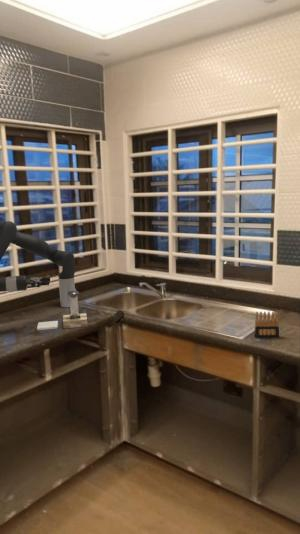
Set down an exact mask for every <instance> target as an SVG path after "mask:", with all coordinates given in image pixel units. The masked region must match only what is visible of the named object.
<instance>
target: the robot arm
mask: <svg viewBox="0 0 300 534" xmlns="http://www.w3.org/2000/svg"><path fill="white" fill-rule="evenodd" d="M11 244H13V245H16V246H17V247H19V248H21V249H23V250H26V251H28V252H29V253H31V254H34V255H36V256H38V257H41V258H44V259H47V260H49V261H50V262H52V263H53V264H55V265H56V266H59V267H62V268H61V270H62V271H61V272H59V273H58V275H57V276H58V277H57V278H58V288H59V301H60V307H61V308H70V297H69V295H67V293H68V292H70V291H77V288H76V286H75V285H76V283H75V272H76V259H75V255H74V254H73V252H71V251H66V250H59V249H58V248H57V249H56V248H54V247H52V246H50V245H49V243H47V241H46V240H44V239H42V238H40V237H38V236H36V235H32V234H29V233H25V232H24V233H23V232H19V231H18V228H17V225H16V224H15V222H13V221H9V220H5V221H0V262H1V261H2V259H3V257H4V255H5V253H6V252H7V250H8V248H9V246H10V245H11ZM50 282H51V277H48V276H47V277H43V276H35V277H29V278H28V279H27V275H12V276H11V275H10V276H7V277H5V276H4V277H0V293H1V292H20V291H21V292H22V291H23V292H24V291H27V289H31V288H32V289H33V288H40V287H42V286H43V287H45V286H50Z"/></svg>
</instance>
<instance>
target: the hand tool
mask: <svg viewBox="0 0 300 534" xmlns="http://www.w3.org/2000/svg"><path fill="white" fill-rule="evenodd" d="M124 317H125V312H124V311H123V310H121V309H119V310H118V311H116V312H115V313H114V314H113V315H112V316H109V317H108V318H107V328H108V329H109V328H112V327H113V326H115V323H117V322H118V321H119V320H120V319H121V318H124Z"/></svg>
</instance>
